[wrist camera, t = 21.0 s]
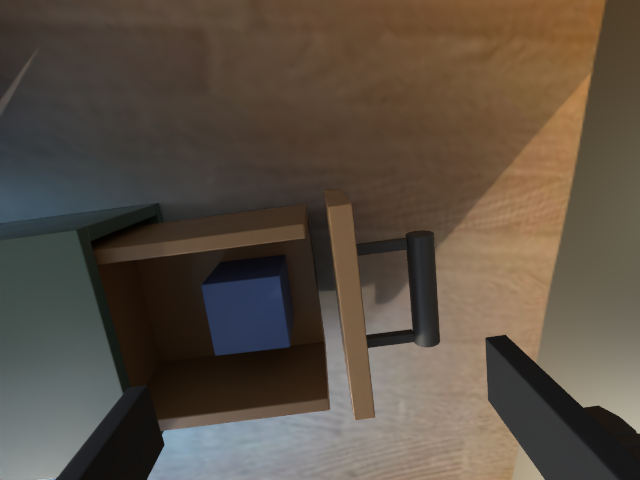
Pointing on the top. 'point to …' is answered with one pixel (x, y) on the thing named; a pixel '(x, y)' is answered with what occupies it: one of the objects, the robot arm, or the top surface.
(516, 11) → the top surface
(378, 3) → the top surface
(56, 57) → the top surface
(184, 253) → the drawer
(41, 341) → the cabinet
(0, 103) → the top surface
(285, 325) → the block
